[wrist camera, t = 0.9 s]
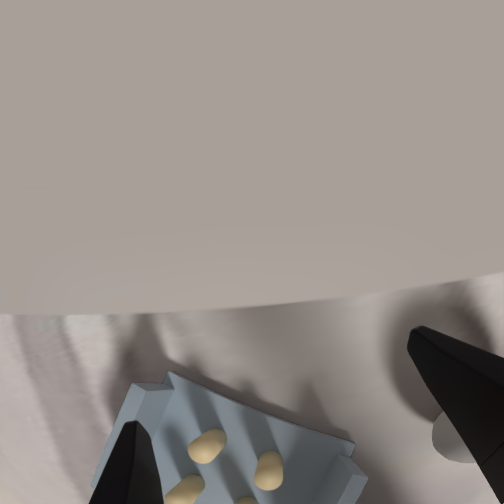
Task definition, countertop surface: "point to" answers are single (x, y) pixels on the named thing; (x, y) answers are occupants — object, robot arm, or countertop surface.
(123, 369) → the countertop surface
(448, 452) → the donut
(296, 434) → the peg stand
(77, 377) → the countertop surface
